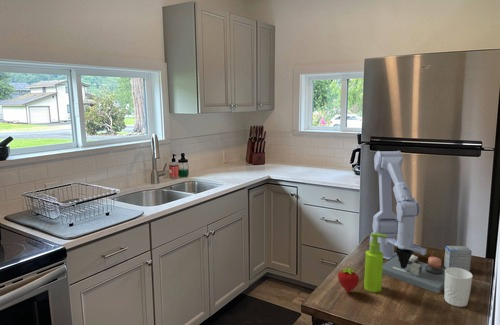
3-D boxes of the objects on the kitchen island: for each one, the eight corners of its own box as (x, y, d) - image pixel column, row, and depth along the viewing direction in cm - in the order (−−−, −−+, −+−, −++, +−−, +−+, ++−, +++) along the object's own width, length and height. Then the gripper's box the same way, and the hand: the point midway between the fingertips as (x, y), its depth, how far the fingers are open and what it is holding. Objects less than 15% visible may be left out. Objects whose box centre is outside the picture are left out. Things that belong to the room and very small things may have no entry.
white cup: (445, 292, 129) (448, 265, 128) (471, 300, 125) (474, 271, 123) (439, 302, 124) (442, 273, 122) (467, 310, 119) (470, 281, 117)
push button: (426, 265, 141) (426, 259, 140) (430, 261, 144) (431, 255, 143) (438, 269, 138) (438, 262, 137) (442, 265, 141) (443, 259, 140)
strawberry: (352, 299, 126) (353, 271, 124) (333, 291, 131) (334, 264, 130) (362, 293, 130) (363, 266, 128) (343, 285, 135) (344, 259, 133)
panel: (377, 272, 145) (378, 264, 144) (397, 259, 156) (397, 252, 155) (438, 293, 129) (438, 285, 128) (454, 277, 140) (455, 269, 139)
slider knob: (410, 273, 138) (410, 264, 138) (413, 271, 140) (413, 262, 139) (418, 276, 136) (419, 267, 135) (421, 274, 138) (422, 265, 137)
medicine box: (464, 266, 148) (466, 245, 147) (469, 272, 144) (472, 250, 143) (443, 266, 149) (445, 245, 148) (448, 271, 145) (450, 249, 143)
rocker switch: (400, 257, 149) (401, 254, 149) (404, 254, 152) (405, 251, 151) (413, 262, 146) (414, 259, 145) (417, 259, 148) (418, 257, 148)
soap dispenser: (385, 293, 129) (388, 237, 126) (364, 291, 131) (367, 236, 127) (383, 285, 135) (386, 231, 132) (363, 283, 136) (365, 230, 133)
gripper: (382, 230, 141) (380, 264, 143) (421, 240, 131) (418, 277, 133) (390, 225, 146) (389, 258, 148) (429, 235, 136) (427, 270, 138)
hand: (403, 267), depth 141 cm, fingers closed
